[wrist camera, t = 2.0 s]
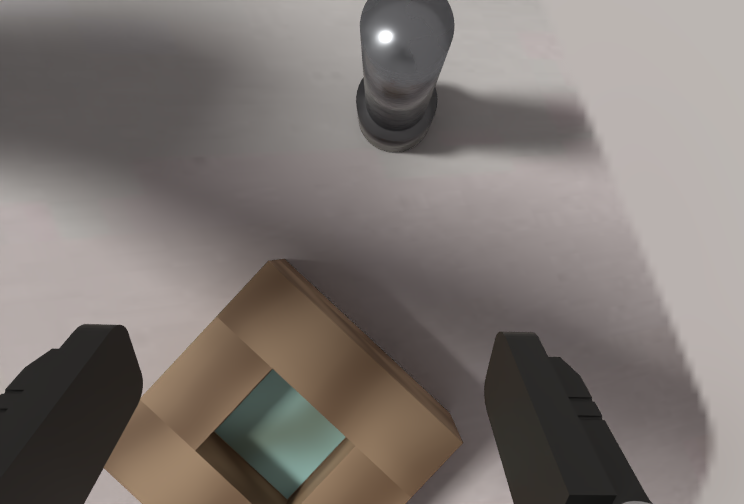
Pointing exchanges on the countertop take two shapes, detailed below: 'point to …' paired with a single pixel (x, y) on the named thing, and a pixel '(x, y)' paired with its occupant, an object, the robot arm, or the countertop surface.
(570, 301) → the countertop surface
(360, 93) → the grey cylindrical peg
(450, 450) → the block
